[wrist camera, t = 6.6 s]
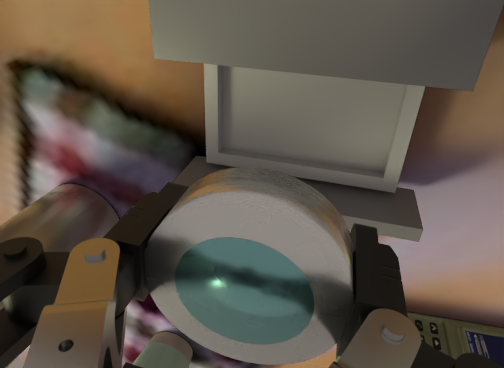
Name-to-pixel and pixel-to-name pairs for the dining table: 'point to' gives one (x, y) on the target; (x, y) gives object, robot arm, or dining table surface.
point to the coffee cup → (165, 352)
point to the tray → (316, 139)
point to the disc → (254, 267)
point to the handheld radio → (459, 337)
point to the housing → (333, 37)
